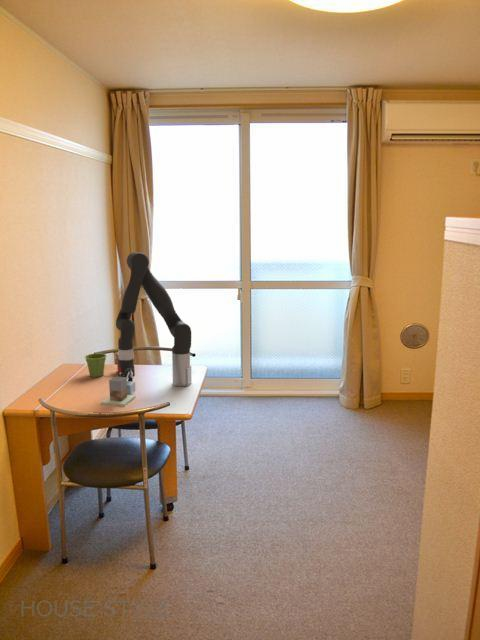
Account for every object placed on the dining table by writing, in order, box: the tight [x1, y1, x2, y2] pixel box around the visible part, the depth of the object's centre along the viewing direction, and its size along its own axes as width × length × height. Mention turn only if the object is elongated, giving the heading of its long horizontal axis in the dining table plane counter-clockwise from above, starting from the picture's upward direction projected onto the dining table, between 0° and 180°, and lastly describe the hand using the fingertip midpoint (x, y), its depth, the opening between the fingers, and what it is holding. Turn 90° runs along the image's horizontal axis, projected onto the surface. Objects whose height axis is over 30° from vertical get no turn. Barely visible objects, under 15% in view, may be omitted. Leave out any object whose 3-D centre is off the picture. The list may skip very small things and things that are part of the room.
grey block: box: [108, 376, 128, 391], centre depth 244 cm, size 6×6×5 cm
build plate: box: [100, 394, 136, 407], centre depth 246 cm, size 12×12×1 cm
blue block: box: [127, 380, 136, 395], centre depth 257 cm, size 6×6×5 cm
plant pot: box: [84, 352, 108, 378], centre depth 282 cm, size 12×12×11 cm
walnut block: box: [109, 388, 127, 401], centre depth 245 cm, size 6×6×5 cm
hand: (126, 388), depth 257 cm, fingers open, 8 cm apart
